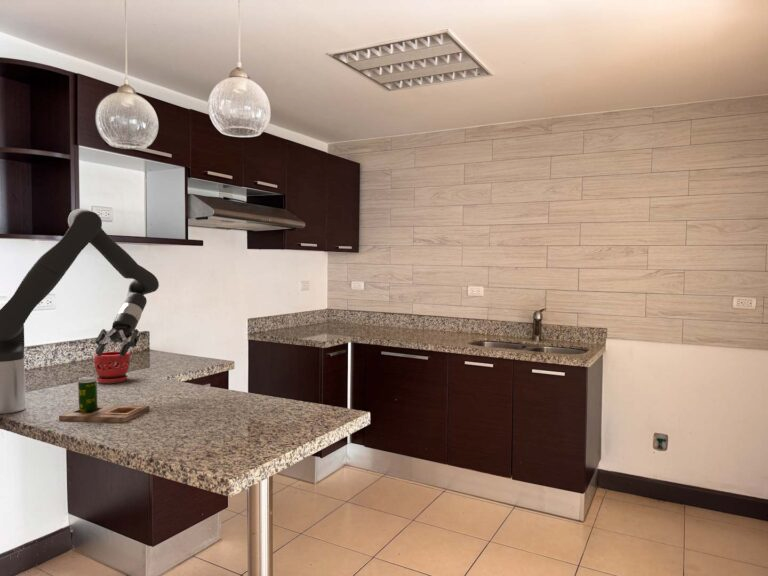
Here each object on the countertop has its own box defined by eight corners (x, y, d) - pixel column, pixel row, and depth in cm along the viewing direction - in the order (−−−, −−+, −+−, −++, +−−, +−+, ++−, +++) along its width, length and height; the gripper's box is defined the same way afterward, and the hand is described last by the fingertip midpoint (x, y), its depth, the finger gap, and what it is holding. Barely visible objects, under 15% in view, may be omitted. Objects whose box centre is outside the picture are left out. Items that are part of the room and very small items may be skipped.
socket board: (59, 420, 173) (58, 414, 173) (88, 408, 187) (88, 403, 187) (124, 422, 170) (124, 416, 170) (149, 410, 184) (149, 405, 184)
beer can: (90, 411, 183) (89, 375, 182) (101, 413, 180) (100, 377, 180) (75, 415, 178) (74, 379, 177) (86, 417, 176) (85, 380, 175)
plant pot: (129, 383, 226) (128, 354, 225) (93, 386, 221) (92, 356, 221) (131, 377, 238) (130, 349, 237) (97, 379, 233) (96, 351, 233)
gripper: (104, 312, 199) (85, 348, 188) (141, 311, 197) (124, 348, 186) (114, 324, 204) (95, 361, 194) (150, 324, 203) (133, 361, 192)
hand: (109, 355), depth 190 cm, fingers open, 8 cm apart
